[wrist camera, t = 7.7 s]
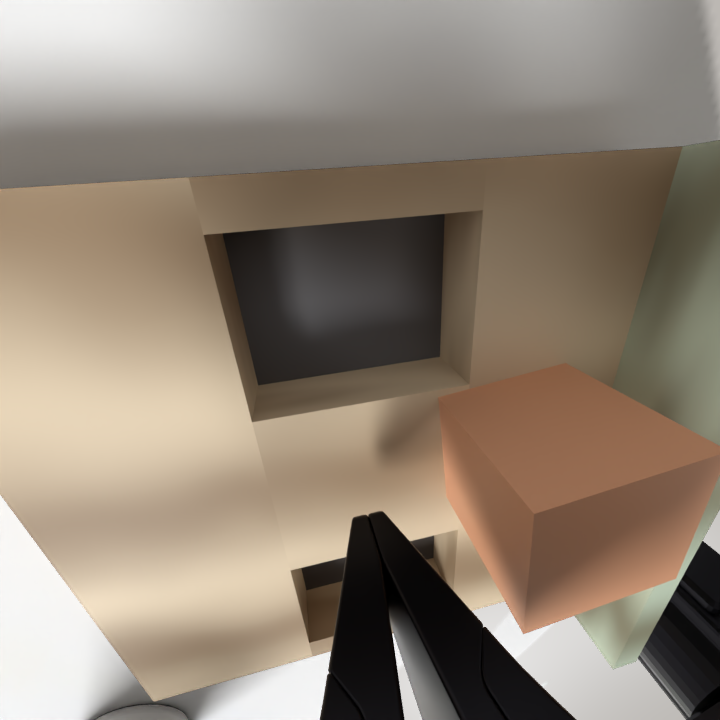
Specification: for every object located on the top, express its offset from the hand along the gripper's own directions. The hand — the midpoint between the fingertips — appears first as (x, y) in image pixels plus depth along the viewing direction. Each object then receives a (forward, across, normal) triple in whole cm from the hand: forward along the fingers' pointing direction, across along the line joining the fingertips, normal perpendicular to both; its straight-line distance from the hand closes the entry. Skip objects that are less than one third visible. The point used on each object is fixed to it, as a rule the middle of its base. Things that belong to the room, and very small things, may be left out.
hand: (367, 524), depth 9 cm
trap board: (+4, 0, 0) cm, 4 cm away
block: (+1, -5, -1) cm, 5 cm away
